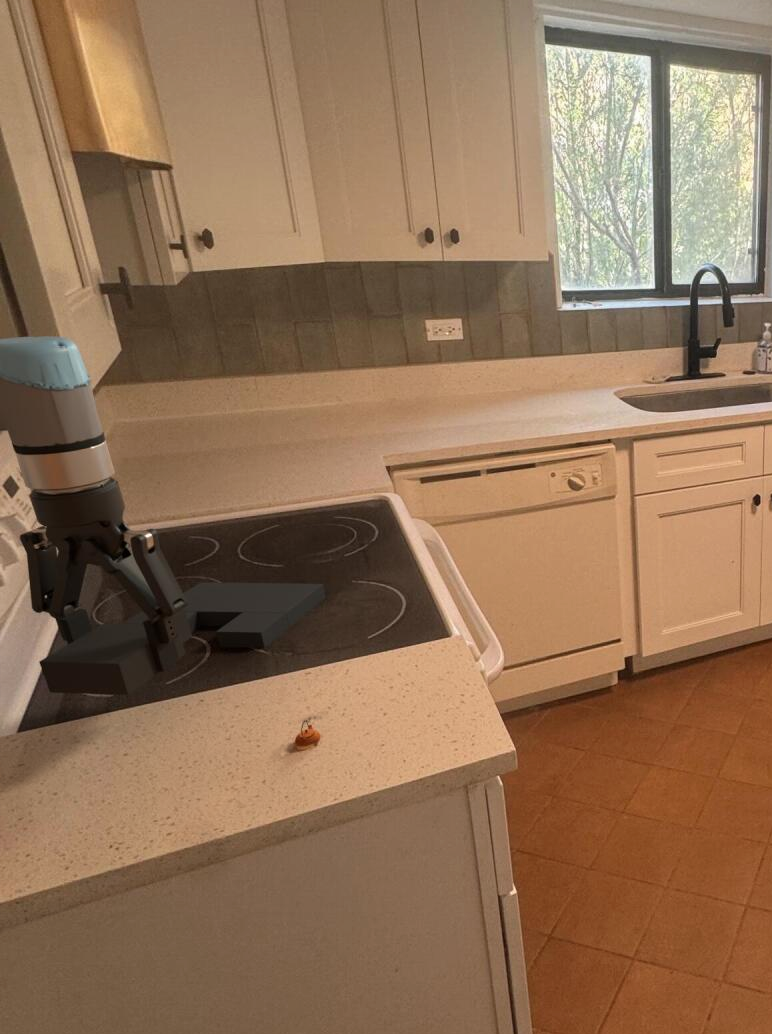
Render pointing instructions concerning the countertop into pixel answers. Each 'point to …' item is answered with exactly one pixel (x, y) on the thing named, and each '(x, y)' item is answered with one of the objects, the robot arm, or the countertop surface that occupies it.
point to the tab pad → (109, 658)
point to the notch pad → (250, 609)
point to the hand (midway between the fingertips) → (128, 664)
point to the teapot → (307, 738)
